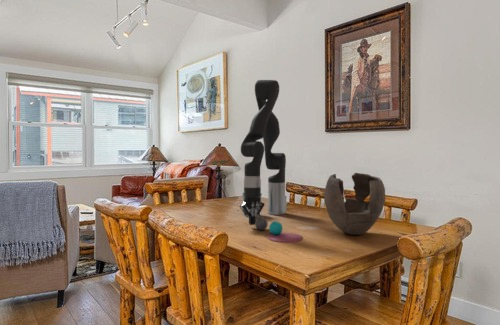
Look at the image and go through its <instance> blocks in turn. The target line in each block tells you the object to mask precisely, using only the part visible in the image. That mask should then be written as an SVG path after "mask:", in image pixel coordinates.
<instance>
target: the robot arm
mask: <svg viewBox="0 0 500 325" xmlns="http://www.w3.org/2000/svg"><path fill="white" fill-rule="evenodd" d="M254 94H255V99H256V103H257V108H258V111H257V112H256V114H255V115H254V116H253V118H252V120H251V123H250V126H249V131H248V132H247V134H246V135H245V137H244V139H243V141H242V143H241V145H240V153H241V155H242V156H243V157H244V158H245V157H246V158H252V160H251V161H250V162H246V163H245V164H244V178H243V193H244V197H245V199H244V203H243V202H242V203H241V204H240V205H239V208H240V209H241V211H242V212H243V215H244V214H245V215H247V216H249V217H248V224H249V225H250V226H255V221H256V220H257V217H256V215H259V214H260V215H261V212H262V210H263V209H264V207H265V203H264V202H262V198H261V199H260V196H261V197H262V195H261V193H262V191H261V190H262V183H261V182H262V180H261V166H262V162H263V158H264V160H265V161H264V162H265V167H266V168H267V170H274V171H277V170H278V172H277V173H275V174H274V175H271V176H269V177H268V178H267V180H268V181H267V182H268V184H267V186H268V187H267V189H268V190H267V198H268V199H267V210H268V211H267V214H268V215H278V216H279V215H284V214H287V195H286V167H287V166H286V165H287V162H286V161H287V160H286V159H287V158H286V154H285V153H283V152H272V149H273V146H274V145H275V143H276V141H278V139H279V136H280V133H281V129H280V122H279V119H278V118H277V115H275V113H274V112H273V110H274V107H275V105H276V103H277V100H278V98H279V95H280V84H279V81H278V80H276V79H258V80H257V81H256V82H255V83H254ZM261 139H262V140H263V143H262V141H260V140H261Z"/></svg>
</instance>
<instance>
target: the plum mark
mask: <svg viewBox="0 0 500 325" xmlns="http://www.w3.org/2000/svg"><path fill="white" fill-rule="evenodd" d="M267 239H268V240H270V241H272V242H278V243H296V242H300V241H302V240H303V236H302V235H300V234H296V233H292V232H291V233H290V232H281V233H280V234H279V235H273V234H272V233H271V234H268V235H267Z"/></svg>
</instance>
